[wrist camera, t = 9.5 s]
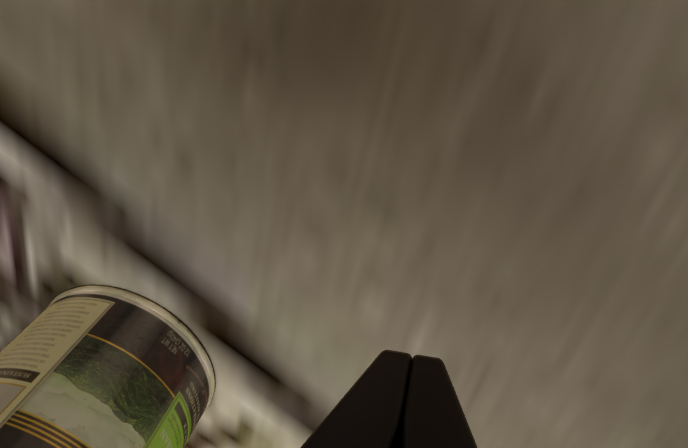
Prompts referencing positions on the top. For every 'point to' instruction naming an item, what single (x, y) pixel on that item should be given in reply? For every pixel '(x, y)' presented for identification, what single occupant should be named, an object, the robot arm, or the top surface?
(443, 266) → the top surface
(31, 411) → the coffee can
